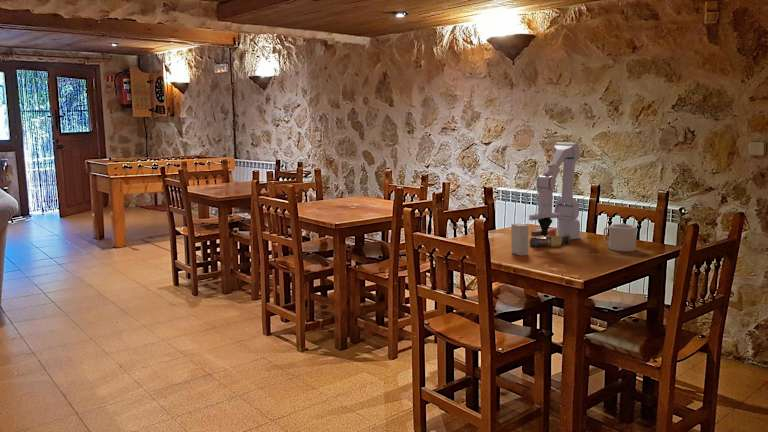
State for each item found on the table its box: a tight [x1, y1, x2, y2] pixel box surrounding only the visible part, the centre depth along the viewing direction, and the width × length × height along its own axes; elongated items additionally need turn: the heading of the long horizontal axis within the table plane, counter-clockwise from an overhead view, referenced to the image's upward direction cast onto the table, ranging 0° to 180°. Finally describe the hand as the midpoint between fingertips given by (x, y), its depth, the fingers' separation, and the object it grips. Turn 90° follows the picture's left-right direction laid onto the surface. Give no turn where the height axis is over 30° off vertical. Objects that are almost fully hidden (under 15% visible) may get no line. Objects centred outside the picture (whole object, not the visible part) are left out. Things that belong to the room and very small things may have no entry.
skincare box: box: [511, 223, 529, 256], centre depth 248 cm, size 6×4×12 cm
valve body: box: [542, 233, 563, 247], centre depth 265 cm, size 7×5×5 cm
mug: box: [602, 223, 638, 253], centre depth 257 cm, size 14×11×10 cm
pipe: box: [529, 234, 572, 249], centre depth 265 cm, size 18×5×5 cm, turn 112°
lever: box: [530, 228, 557, 238], centre depth 262 cm, size 12×3×2 cm, turn 118°
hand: (544, 235), depth 260 cm, fingers closed, pressing on lever
